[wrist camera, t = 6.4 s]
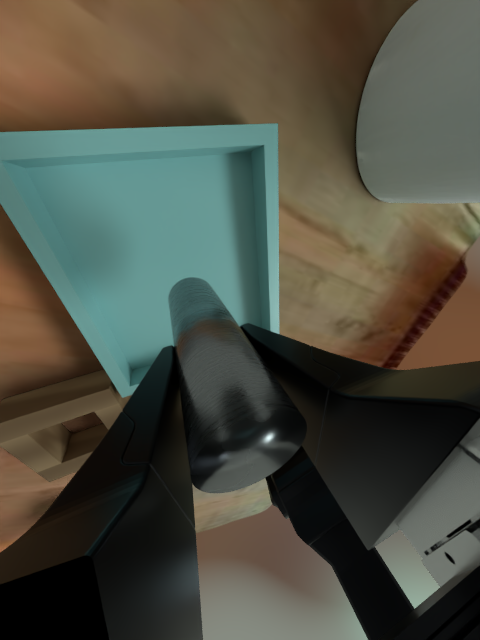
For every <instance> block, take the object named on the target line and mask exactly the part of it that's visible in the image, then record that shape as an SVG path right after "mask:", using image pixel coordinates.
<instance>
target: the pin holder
mask: <svg viewBox="0 0 480 640" xmlns="http://www.w3.org/2000/svg"><path fill="white" fill-rule="evenodd" d="M131 396H132V395H130V396H127V397H124V398H122V397H121V395H120V393H119V392H118V390H117V389H116V387H115V385H114V384H113V382H112V381H111V379H110V377H109V376H108V374H107V373H106V371H105V369H103V370H100V371H97V372H93V373H90V374H86V375H83V376H80V377H76V378H73V379H69V380H66V381H63V382H59V383H56V384H52V385H49V386H46V387H42V388H39V389H35V390H32V391H29V392H25V393H22V394H18V395H15V396H12V397H8V398H5V399H3V400H2V401H1V402H0V446H1V447H2V448H3V449H5V450H6V451H8V452H9V453H10V454H12V455H13V456H14V457H16V458H17V459H19V460H20V461H21V462H23V463H24V464H25V465H27V466H28V467H30V468H31V469H32V470H34V471H35V472H36V473H38V474H39V475H40V476H42V477H43V478H45V479H46V480H47V481H49V482H51V481H53V480H56V479H59V478H61V477H64V476H66V475H69V474H71V473H74V472H76V471H78V470H79V469H80V468H81V466H82V465H83V464H84V462H85V461H86V460H87V459H88V457H89V456H90V455H91V453H92V452H93V451H94V449H95V448H96V447H97V445H98V444H99V443H100V441H101V440H102V439H103V437H104V436H105V435H106V433H107V432H108V430H109V429H110V427H111V426H112V424H113V423H114V421H115V420H116V418H117V417H118V415H119V414H120V412H122V409H123V408H124V406H125V405H126V403H127V402H128V400H129V399H130V397H131ZM92 412H95V413H96V414H97V416H98V417H99V418H100V420H101V421H102V422H103V424H100V425H97V426H94V427H92V428H89V429H86V430H83V431H80V432H77V433H75V434H71V433H70V432H69V431H68V430H67V429H66V428H65V427H64V425H63V424H62V422H65V421H68V420H71V419H74V418H77V417H80V416H83V415H86V414H89V413H92Z"/></svg>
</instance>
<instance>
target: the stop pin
mask: <svg viewBox="0 0 480 640" xmlns="http://www.w3.org/2000/svg"><path fill="white" fill-rule="evenodd" d="M168 303H169V311H170V319H171V327H172V335H173V342H174V350H175V358H176V366H177V374H178V382H179V390H180V398H181V405H182V413H183V421H184V429H185V437H186V445H187V453H188V461H189V469H190V476H191V481H192V483H193V485H194V486H195V487H196V488H197V489H199V490H201V491H204V492H208V493H225V492H230V491H235V490H238V489H241V488H244V487H247V486H249V485H252V484H254V483H256V482H258V481H260V480H262V479H264V478H265V477H267V476H269V475H270V474H272V473H273V472H275V471H276V470H278V469H279V468H280V467H281V466H283V465H284V464H285V463H286V462H287V461H288V460H289V459H290V458H291V457H292V456H293V455H294V454H295V453H296V452H297V450H298V449H299V448H300V446H301V444H302V443H303V441H304V439H305V436H306V432H307V423H306V420H305V418H304V417H303V416H302V414H301V413H300V411H299V410H298V408H297V407H296V406H295V404H294V403H293V401H292V400H291V398H290V397H289V396H288V394H287V393H286V391H285V390H284V389H283V387H282V386H281V384H280V383H279V381H278V380H277V379H276V377H275V376H274V374H273V373H272V372H271V370H270V369H269V367H268V366H267V364H266V363H265V362H264V360H263V359H262V357H261V356H260V355H259V353H258V352H257V350H256V349H255V347H254V346H253V345H252V343H251V342H250V340H249V339H248V338H247V336H246V335H245V333H244V332H243V330H242V329H241V328H240V326H239V325H238V323H237V322H236V321H235V319H234V318H233V316H232V315H231V313H230V312H229V311H228V309H227V308H226V306H225V305H224V304H223V302H222V301H221V299H220V298H219V296H218V295H217V294H216V292H215V291H214V289H213V288H212V287H211V285H210V284H209V283H208V282H206V281H205V280H203V279H200V278H196V277H189V278H185V279H182V280H180V281H178V282H177V283H176V284H175V285H174V286H173V287H172V288H171V290H170V293H169V296H168Z"/></svg>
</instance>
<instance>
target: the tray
mask: <svg viewBox="0 0 480 640" xmlns="http://www.w3.org/2000/svg"><path fill="white" fill-rule="evenodd" d="M0 204H1V205H2V207H3V208H4V210H5V212H6V213H7V215H8V216H9V218H10V220H11V221H12V223H13V224H14V226H15V228H16V229H17V231H18V232H19V234H20V236H21V237H22V239H23V240H24V242H25V243H26V245H27V247H28V248H29V250H30V251H31V253H32V255H33V256H34V258H35V259H36V261H37V263H38V264H39V266H40V267H41V269H42V271H43V272H44V274H45V275H46V277H47V279H48V280H49V282H50V283H51V285H52V287H53V288H54V290H55V291H56V293H57V295H58V296H59V298H60V299H61V301H62V302H63V304H64V306H65V307H66V309H67V310H68V312H69V314H70V315H71V317H72V318H73V320H74V322H75V323H76V325H77V326H78V328H79V330H80V331H81V333H82V334H83V336H84V338H85V339H86V341H87V342H88V344H89V346H90V347H91V349H92V350H93V352H94V354H95V355H96V357H97V358H98V360H99V361H100V363H101V365H102V366H103V368H104V369H105V371H106V373H107V374H108V376H109V377H110V379H111V381H112V382H113V384H114V385H115V387H116V389H117V390H118V392H119V393H120V395H121V397H122V398H124V397H127V396H130V395H132V394H133V393H134V391H135V390H136V388H137V386H138V385H139V383H140V382H141V380H142V379H143V377H144V376H145V374H146V373H147V371H148V370H149V368H150V367H151V365H152V364H153V362H154V360H155V359H156V357H157V356H158V354H159V353H160V351H161V350H162V348H164V347H167V346H170V345H173V346H174V342H173V335H172V327H171V319H170V311H169V303H168V296H169V293H170V290H171V288H172V287H173V286H174V285H175V284H176V283H177V282H178V281H180V280H182V279H185V278H189V277H196V278H200V279H203V280H205V281H206V282H208V283H209V284H210V285H211V287H212V288H213V289H214V291H215V292H216V294H217V295H218V296H219V298H220V299H221V301H222V302H223V304H224V305H225V306H226V308H227V309H228V311H229V312H230V313H231V315H232V316H233V318H234V319H235V321H236V322H237V323H238V325H239V326H241V325H243V324H246V323H250V324H253V325H255V326H258V327H261V328H264V329H266V330H269V331H272V332H275V333H277V334H279V219H278V123H275V124H244V125H212V126H181V127H149V128H118V129H86V130H55V131H23V132H0Z"/></svg>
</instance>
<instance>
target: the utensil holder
mask: <svg viewBox="0 0 480 640" xmlns="http://www.w3.org/2000/svg"><path fill="white" fill-rule="evenodd" d="M356 153H357V162H358V166H359V171H360V175H361V177H362V180H363V182H364V184H365V186H366V188H367V189H368V191H369V192H370V193H371V194H372V195H373V196H374V197H376V198H377V199H379V200H381V201H384V202H391V203H480V0H418V1H417V2H415V3H414V4H413V5H412V6H411V7H410V8H409V9H408V10H407V11H406V12H405V13H404V14H403V15H402V17H401V18H400V19H399V20H398V21H397V23H396V24H395V26H394V27H393V28H392V30H391V31H390V33H389V34H388V36H387V37H386V39H385V41H384V43H383V45H382V46H381V48H380V50H379V52H378V54H377V56H376V58H375V60H374V63H373V65H372V67H371V70H370V73H369V75H368V78H367V81H366V84H365V87H364V91H363V95H362V99H361V103H360V108H359V114H358V121H357V131H356Z"/></svg>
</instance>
